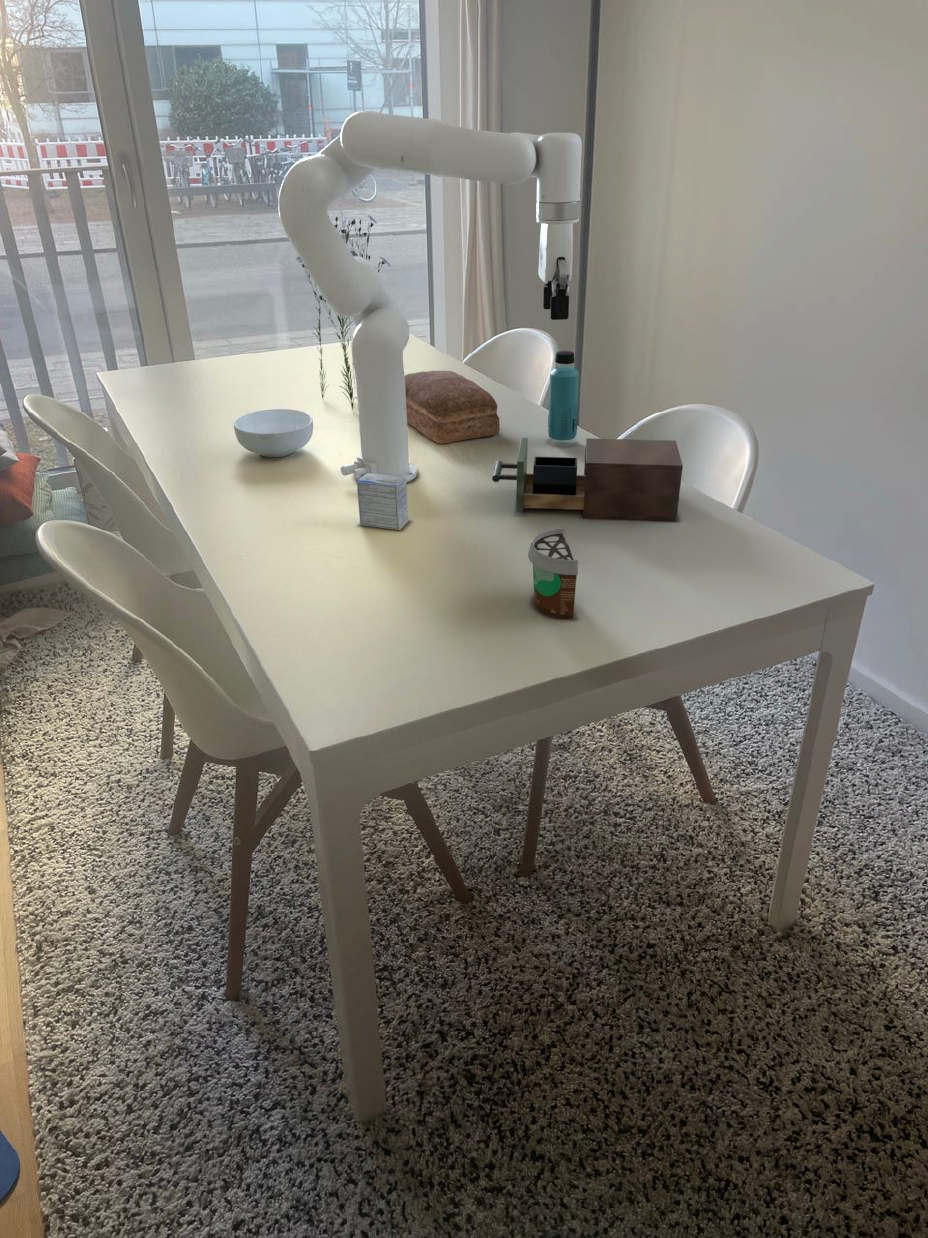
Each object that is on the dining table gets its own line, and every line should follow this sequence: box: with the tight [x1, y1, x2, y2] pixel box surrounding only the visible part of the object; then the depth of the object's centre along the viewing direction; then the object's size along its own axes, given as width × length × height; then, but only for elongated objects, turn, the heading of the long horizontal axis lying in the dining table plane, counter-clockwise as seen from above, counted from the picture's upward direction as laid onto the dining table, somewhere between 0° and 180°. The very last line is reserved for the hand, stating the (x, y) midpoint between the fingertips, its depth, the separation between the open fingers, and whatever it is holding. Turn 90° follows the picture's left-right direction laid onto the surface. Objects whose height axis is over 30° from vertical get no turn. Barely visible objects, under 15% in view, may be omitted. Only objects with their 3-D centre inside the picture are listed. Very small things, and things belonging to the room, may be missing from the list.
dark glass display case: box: [532, 456, 578, 495], centre depth 169 cm, size 8×5×6 cm, turn 84°
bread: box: [404, 370, 501, 444], centre depth 212 cm, size 17×29×11 cm, turn 26°
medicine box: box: [356, 473, 409, 531], centre depth 162 cm, size 8×4×9 cm, turn 71°
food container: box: [527, 527, 579, 620], centre depth 135 cm, size 12×6×10 cm, turn 5°
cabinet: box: [582, 437, 684, 522], centre depth 168 cm, size 17×14×11 cm
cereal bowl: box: [233, 408, 314, 458], centre depth 197 cm, size 17×17×7 cm
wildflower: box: [295, 211, 392, 411], centre depth 219 cm, size 22×23×45 cm
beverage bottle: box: [547, 350, 580, 441], centre depth 197 cm, size 6×7×20 cm
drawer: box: [491, 437, 586, 513], centre depth 169 cm, size 22×13×10 cm, turn 84°
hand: (555, 313), depth 167 cm, fingers open, 9 cm apart
